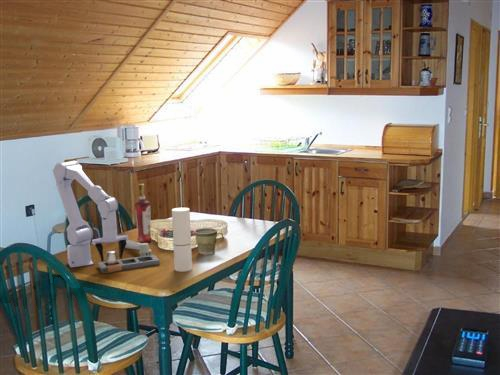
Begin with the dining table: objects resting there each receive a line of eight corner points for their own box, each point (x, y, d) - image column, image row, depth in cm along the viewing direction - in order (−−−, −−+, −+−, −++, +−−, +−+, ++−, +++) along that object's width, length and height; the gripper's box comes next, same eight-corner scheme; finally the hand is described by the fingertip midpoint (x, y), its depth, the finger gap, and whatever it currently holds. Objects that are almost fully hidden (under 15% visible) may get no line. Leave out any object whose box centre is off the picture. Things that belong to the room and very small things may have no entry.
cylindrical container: (192, 265, 258) (190, 207, 254) (191, 271, 251) (188, 210, 247) (175, 266, 258) (172, 207, 254) (173, 271, 251) (170, 211, 247)
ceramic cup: (192, 254, 274) (191, 232, 273) (200, 248, 284) (199, 227, 282) (219, 256, 270) (219, 234, 269) (227, 250, 280) (226, 228, 278)
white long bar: (128, 237, 292) (152, 240, 272) (129, 251, 293) (154, 255, 272) (117, 239, 289) (141, 243, 269) (119, 253, 290) (143, 258, 269)
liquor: (143, 239, 303) (139, 182, 298) (155, 240, 300) (152, 183, 295) (133, 242, 297) (130, 185, 292) (146, 244, 294) (143, 186, 289)
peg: (108, 270, 255) (107, 254, 254) (106, 267, 259) (105, 251, 257) (118, 269, 257) (117, 252, 255) (116, 266, 260) (114, 250, 259)
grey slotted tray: (102, 273, 251) (102, 268, 251) (98, 267, 260) (97, 262, 259) (159, 264, 261) (159, 259, 261) (153, 259, 269) (153, 254, 269)
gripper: (93, 231, 248) (95, 264, 251) (129, 227, 254) (131, 259, 256) (90, 228, 254) (92, 259, 257) (125, 223, 260) (127, 255, 263)
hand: (111, 259), depth 257 cm, fingers open, 7 cm apart
